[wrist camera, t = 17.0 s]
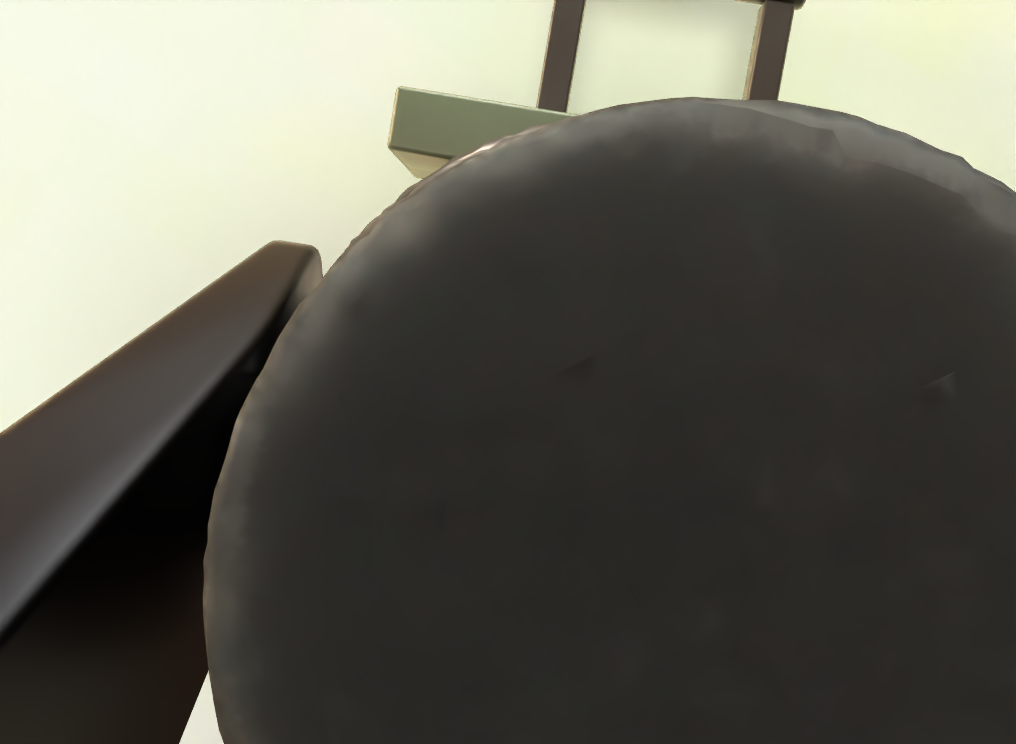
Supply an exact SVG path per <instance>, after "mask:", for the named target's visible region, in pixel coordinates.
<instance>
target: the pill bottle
mask: <svg viewBox="0 0 1016 744" xmlns="http://www.w3.org/2000/svg"><path fill="white" fill-rule="evenodd" d="M203 565H204V588H203V617H204V630H205V640H206V649H207V659H208V668H209V675H210V681H211V688H212V694H213V700H214V706H215V712H216V717H217V722H218V727H219V731H220V734H221V736H222V739H223V742H224V744H1016V192H1014V191H1013V190H1012V189H1010V188H1009V187H1008V186H1006V185H1005V184H1004V183H1002V182H1001V181H999V180H997V179H995V178H993V177H991V176H989V175H987V174H985V173H983V172H980V171H978V170H976V169H974V168H973V167H972V166H971V165H970V164H969V163H968V162H967V161H966V160H965V159H964V158H963V157H960V156H957V155H954V154H951V153H948V152H945V151H942V150H939V149H937V148H935V147H933V146H931V145H929V144H927V143H925V142H923V141H921V140H919V139H917V138H915V137H913V136H910V135H908V134H906V133H904V132H900V131H897V130H894V129H890V128H887V127H884V126H880V125H877V124H875V123H872V122H870V121H868V120H865V119H863V118H861V117H858V116H854V115H851V114H847V113H843V112H838V111H833V110H828V109H822V108H817V107H811V106H806V105H801V104H795V103H789V102H783V101H777V100H729V99H714V98H699V97H686V98H670V99H662V100H654V101H646V102H639V103H631V104H623V105H617V106H613V107H609V108H604V109H600V110H597V111H593V112H590V113H587V114H583V115H580V116H574V117H569V118H564V119H562V120H559V121H556V122H554V123H551V124H545V125H535V126H530V127H528V128H526V129H524V130H523V131H521V132H519V133H517V134H514V135H505V136H502V137H498V138H494V139H491V140H489V141H488V142H486V143H484V144H483V145H481V146H479V147H476V148H474V149H472V150H470V151H468V152H466V153H463V154H461V155H459V156H456V157H454V158H452V159H451V160H450V161H449V162H447V163H446V164H445V165H443V166H442V167H441V168H440V169H438V170H437V171H435V172H433V173H432V174H430V175H429V176H427V177H426V178H424V179H423V180H421V181H419V182H418V183H416V184H414V185H412V186H411V187H409V188H408V189H407V190H406V191H405V192H403V193H402V194H401V195H400V196H399V198H398V199H397V200H396V202H395V203H394V204H392V205H391V206H389V207H388V208H386V209H385V210H384V211H383V212H382V213H381V215H380V216H378V217H376V218H375V219H374V220H373V221H371V222H370V223H369V224H368V225H367V226H366V227H365V229H364V230H363V231H362V232H361V234H360V235H359V236H357V237H356V238H354V239H353V240H352V241H351V243H350V245H349V247H347V248H346V249H345V251H344V253H343V254H342V255H341V256H340V257H339V258H338V259H337V261H336V262H335V263H334V264H333V265H332V267H331V268H330V269H329V271H328V272H327V273H326V275H325V276H324V277H323V279H322V280H321V281H320V283H319V284H318V285H317V286H316V287H315V288H314V289H313V291H312V292H311V293H310V294H309V295H308V296H307V297H306V298H305V299H304V300H303V301H302V302H301V303H300V304H299V305H298V307H297V309H296V310H295V312H294V313H293V315H292V317H291V318H290V320H289V321H288V323H287V325H286V326H285V328H284V329H283V331H282V332H281V334H280V336H279V337H278V339H277V341H276V343H275V345H274V347H273V349H272V351H271V353H270V356H269V358H268V360H267V362H266V364H265V366H264V368H263V370H262V371H261V373H260V374H259V376H258V377H257V379H256V381H255V383H254V385H253V386H252V388H251V390H250V392H249V394H248V396H247V398H246V400H245V402H244V404H243V406H242V408H241V410H240V412H239V415H238V417H237V420H236V422H235V425H234V429H233V432H232V436H231V440H230V443H229V447H228V451H227V454H226V458H225V461H224V464H223V466H222V470H221V473H220V476H219V479H218V482H217V484H216V487H215V490H214V495H213V501H212V507H211V513H210V518H209V523H208V543H207V547H206V551H205V556H204V560H203Z"/></svg>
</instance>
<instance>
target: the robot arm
mask: <svg viewBox="0 0 1016 744" xmlns="http://www.w3.org/2000/svg"><path fill="white" fill-rule="evenodd" d="M322 279H323V274H322V263H321V257H320V254H319V252H318V250H317V249H316V248H315V247H313V246H311V245H306V244H299V243H293V242H286V241H272V242H270V243H268V244H266V245H265V246H263V247H262V248H260V249H259V250H258V251H256V252H255V253H253V254H252V255H251V256H249V257H248V258H246V259H245V260H244V261H242V262H241V263H239V264H238V265H237V266H235V267H234V268H232V269H231V270H229V271H228V272H227V273H225V274H224V275H222V276H221V277H220V278H218V279H217V280H215V281H214V282H213V283H211V284H210V285H208V286H207V287H206V288H204V289H203V290H201V291H200V292H198V293H197V294H196V295H194V296H193V297H191V298H190V299H189V300H187V301H186V302H184V303H183V304H182V305H180V306H179V307H177V308H176V309H174V310H173V311H172V312H170V313H169V314H167V315H166V316H165V317H163V318H162V319H160V320H159V321H158V322H156V323H155V324H153V325H152V326H151V327H149V328H148V329H146V330H145V331H143V332H142V333H141V334H139V335H138V336H136V337H135V338H134V339H132V340H131V341H129V342H128V343H127V344H125V345H124V346H122V347H121V348H120V349H118V350H117V351H115V352H114V353H112V354H111V355H110V356H108V357H107V358H105V359H104V360H103V361H101V362H100V363H98V364H97V365H96V366H94V367H93V368H91V369H90V370H89V371H87V372H86V373H84V374H83V375H81V376H80V377H79V378H77V379H76V380H74V381H73V382H72V383H70V384H69V385H67V386H66V387H65V388H63V389H62V390H60V391H59V392H57V393H56V394H55V395H53V396H52V397H50V398H49V399H48V400H46V401H45V402H43V403H42V404H41V405H39V406H38V407H36V408H35V409H34V410H32V411H31V412H29V413H28V414H26V415H25V416H24V417H22V418H21V419H19V420H18V421H17V422H15V423H14V424H12V425H11V426H10V427H8V428H7V429H5V430H4V431H3V432H1V433H0V744H179V742H180V740H181V737H182V735H183V732H184V730H185V727H186V725H187V722H188V720H189V717H190V715H191V712H192V710H193V707H194V705H195V702H196V700H197V697H198V695H199V693H200V690H201V688H202V685H203V683H204V680H205V678H206V675H207V673H208V670H209V668H208V659H207V649H206V640H205V630H204V617H203V588H204V565H203V560H204V556H205V551H206V547H207V543H208V523H209V518H210V513H211V507H212V501H213V495H214V490H215V487H216V484H217V482H218V479H219V476H220V473H221V470H222V466H223V464H224V461H225V458H226V454H227V451H228V447H229V443H230V440H231V436H232V432H233V429H234V425H235V422H236V420H237V417H238V415H239V412H240V410H241V408H242V406H243V404H244V402H245V400H246V398H247V396H248V394H249V392H250V390H251V388H252V386H253V385H254V383H255V381H256V379H257V377H258V376H259V374H260V373H261V371H262V370H263V368H264V366H265V364H266V362H267V360H268V358H269V356H270V353H271V351H272V349H273V347H274V345H275V343H276V341H277V339H278V337H279V336H280V334H281V332H282V331H283V329H284V328H285V326H286V325H287V323H288V321H289V320H290V318H291V317H292V315H293V313H294V312H295V310H296V309H297V307H298V305H299V304H300V303H301V302H302V301H303V300H304V299H305V298H306V297H307V296H308V295H309V294H310V293H311V292H312V291H313V289H314V288H315V287H316V286H317V285H318V284H319V283H320V281H321V280H322Z"/></svg>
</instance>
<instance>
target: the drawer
mask: <svg viewBox="0 0 1016 744" xmlns="http://www.w3.org/2000/svg"><path fill="white" fill-rule="evenodd" d="M735 1H742V2H748V3H754V4H761V5H762V6H761V8H760V9H759V11H758V17H757V22H756V28H755V33H754V39H753V44H752V50H751V55H750V61H749V66H748V72H747V77H746V83H745V88H744V94H743V99H742V100H777V101H778V96H779V90H780V85H781V79H782V74H783V68H784V63H785V58H786V52H787V47H788V41H789V36H790V30H791V25H792V20H793V14H794V10H798V9H801V8H802V6H803V5H804V3H805V1H806V0H735ZM585 4H586V0H554V6H553V12H552V17H551V23H550V29H549V35H548V41H547V47H546V53H545V59H544V65H543V71H542V77H541V83H540V89H539V94H538V100H537V106H536V108H533V107H527V106H521V105H515V104H508V103H502V102H496V101H490V100H484V99H477V98H471V97H465V96H459V95H453V94H447V93H440V92H434V91H428V90H422V89H416V88H409V87H403V86H401V87H398V88H397V90H396V95H395V101H394V107H393V114H392V120H391V126H390V132H389V139H388V148H389V149H390V150H391V151H392V152H393V154H394V155H395V156H396V157H397V158H398V159H399V160H400V161H401V162H402V163H403V164H404V165H405V167H406V168H407V169H408V170H409V171H410V172H411V173H412V174H413V175H414V176H415V177H417V178H422V179H424V178H426V177H427V176H429V175H430V174H432V173H433V172H435V171H437V170H438V169H440V168H441V167H442V166H443V165H445V164H446V163H447V162H449V161H450V160H451V159H452V158H454V157H456V156H459V155H461V154H463V153H466V152H468V151H470V150H472V149H474V148H476V147H479V146H481V145H483V144H484V143H486V142H488V141H489V140H491V139H494V138H498V137H502V136H505V135H514V134H517V133H519V132H521V131H523V130H524V129H526V128H528V127H530V126H535V125H545V124H551V123H554V122H556V121H559V120H562V119H564V118H569V117H574V116H580V115H577V114H570V113H567V110H568V104H569V98H570V92H571V86H572V80H573V74H574V69H575V63H576V57H577V51H578V45H579V39H580V33H581V28H582V22H583V16H584V10H585Z"/></svg>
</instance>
